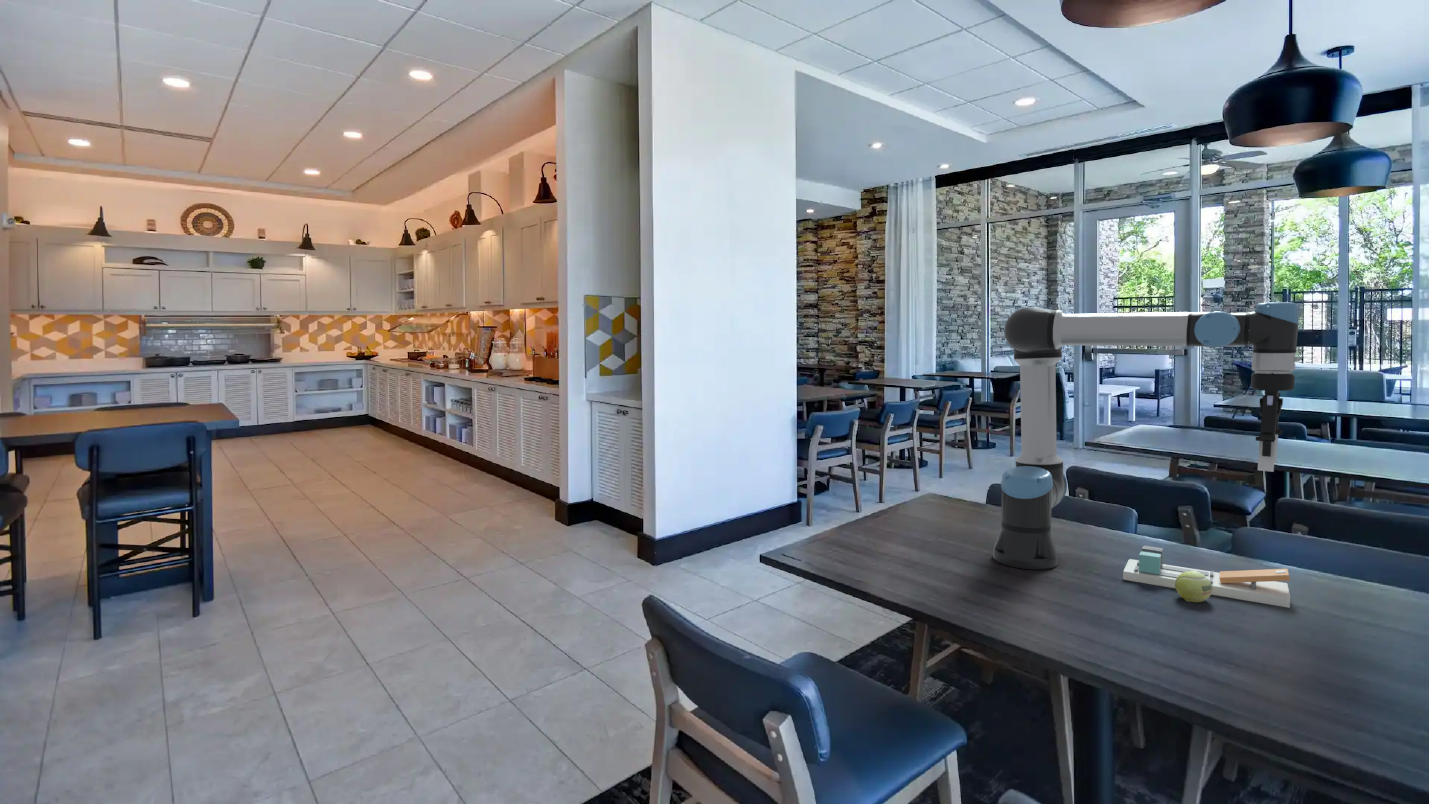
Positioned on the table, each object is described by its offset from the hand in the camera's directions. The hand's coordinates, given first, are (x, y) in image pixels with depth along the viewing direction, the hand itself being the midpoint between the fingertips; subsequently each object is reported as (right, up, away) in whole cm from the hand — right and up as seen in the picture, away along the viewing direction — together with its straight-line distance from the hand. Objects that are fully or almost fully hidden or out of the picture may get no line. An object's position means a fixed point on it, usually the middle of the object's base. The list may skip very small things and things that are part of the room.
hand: (1267, 466), depth 154 cm
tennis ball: (-21, -28, -6) cm, 36 cm away
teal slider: (-23, -25, +5) cm, 34 cm away
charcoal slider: (-20, -24, +9) cm, 33 cm away
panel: (-14, -27, +2) cm, 30 cm away
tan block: (-7, -24, -5) cm, 25 cm away
